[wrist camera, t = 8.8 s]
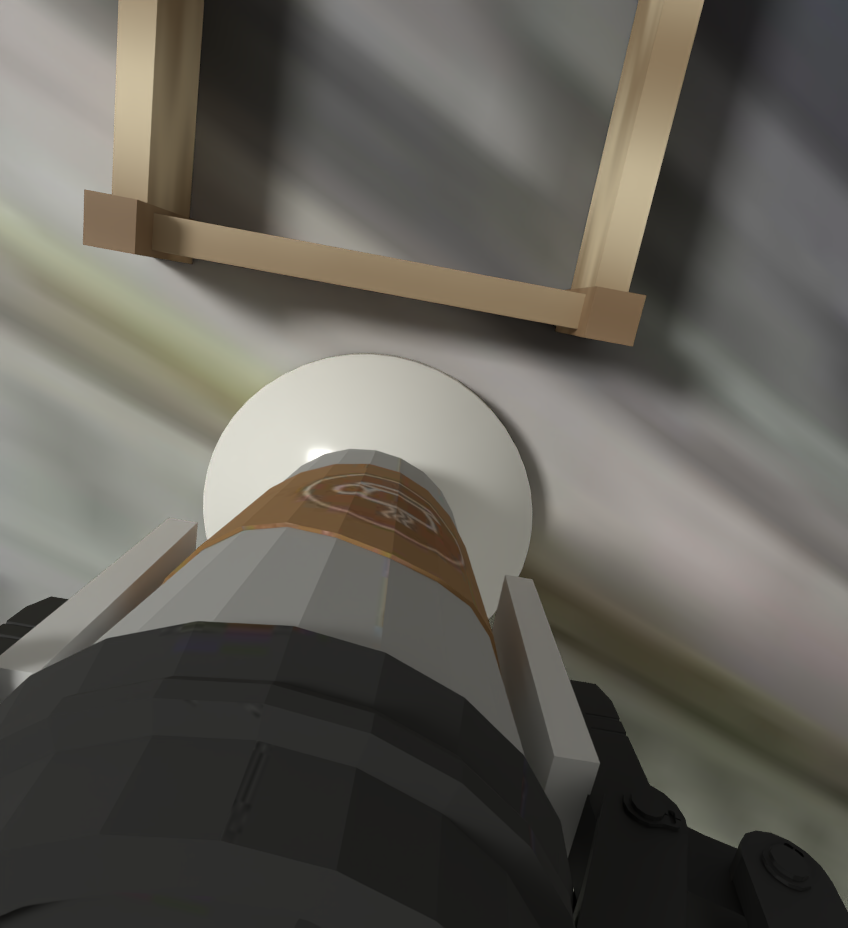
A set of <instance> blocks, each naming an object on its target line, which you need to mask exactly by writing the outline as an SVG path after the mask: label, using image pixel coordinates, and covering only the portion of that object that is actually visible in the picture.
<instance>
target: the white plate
mask: <svg viewBox="0 0 848 928" xmlns="http://www.w3.org/2000/svg"><path fill="white" fill-rule="evenodd" d="M346 449H364V450H377V451H380V452H383V453H386V454H389V455H393V456H396V457H399V458H402V459H403V460H405V461H406V462H408V463H410V464H411V465H413V466H415V467H416V468H418V469H419V470H421V471H423V472H424V473H425V474H426V475H427V476H428V477H429V478H430V479H431V480H432V481H433V483H434V484H435V485H436V486H437V487H438V488H439V489H440V490H441V492H442V493H443V495H444V497H445V499H446V501H447V503H448V505H449V507H450V509H451V510H452V513H453V516H454V519H455V523H456V526H457V529H458V533H459V535H460V537H461V539H462V541H463V543H464V545H465V547H466V550H467V553H468V556H469V560H470V563H471V566H472V569H473V572H474V576H475V579H476V582H477V585H478V588H479V592H480V595H481V598H482V601H483V604H484V607H485V611H486V614H487V617H488V619H489V618H490V617H491V616H492V615H493V614H494V613H495V612H496V610H497V607H498V603H499V598H500V594H501V590H502V586H503V581H504V577H505V575H510V576H516V577H519V574H520V572H521V570H522V568H523V565H524V562H525V559H526V556H527V552H528V549H529V543H530V538H531V532H532V510H533V509H532V500H531V490H530V485H529V482H528V478H527V474H526V470H525V467H524V464H523V462H522V459H521V457H520V454H519V452H518V450H517V447H516V446H515V444H514V442H513V441H512V439H511V437H510V435H509V434H508V432H507V430H506V429H505V427H504V425H503V424H502V423H501V421H500V420H499V419H498V417H497V416H496V415H495V414H494V412H493V411H492V410H491V408H490V407H488V406H487V405H486V404H485V403H484V402H483V401H482V400H481V399H480V398H479V397H478V396H477V395H476V394H475V393H474V392H473V391H471V390H470V389H469V388H467V387H466V386H465V385H463V384H462V383H461V382H459V381H458V380H456V379H454V378H453V377H451V376H449V375H447V374H446V373H444V372H442V371H440V370H438V369H436V368H433V367H431V366H428V365H426V364H423V363H421V362H418V361H415V360H411V359H407V358H403V357H399V356H394V355H385V354H376V353H357V354H346V355H339V356H332V357H328V358H324V359H321V360H317V361H314V362H311V363H308V364H305V365H303V366H301V367H299V368H297V369H294V370H292V371H290V372H288V373H286V374H283V375H282V376H280V377H279V378H277V379H275V380H274V381H272V382H271V383H269V384H268V385H266V386H264V387H263V388H262V389H261V390H260V391H258V392H257V393H256V394H255V395H254V396H253V397H251V398H250V399H249V400H248V401H247V402H246V403H245V404H244V405H243V406H242V408H241V409H240V410H239V411H238V412H237V413H236V414H235V415H234V417H233V418H232V420H231V421H230V423H229V424H228V426H227V427H226V429H225V430H224V432H223V433H222V435H221V437H220V439H219V441H218V443H217V445H216V448H215V450H214V452H213V454H212V458H211V461H210V464H209V467H208V471H207V475H206V481H205V487H204V498H203V516H204V524H205V532H206V537H207V540H208V539H209V538H210V537H212V536H213V535H214V534H215V533H216V532H218V531H219V530H220V529H221V528H223V527H224V526H225V525H226V524H227V523H229V522H230V521H231V520H232V519H233V518H235V517H236V516H237V515H238V514H240V513H241V512H242V511H243V510H244V509H246V508H247V507H248V506H249V505H250V504H252V503H253V502H254V501H255V500H256V499H258V498H259V497H260V496H261V495H263V494H264V493H265V492H266V491H267V490H269V489H270V488H272V487H273V486H275V485H277V484H279V483H281V482H283V481H284V480H285V479H286V478H288V477H289V476H290V475H291V474H292V473H293V472H295V471H296V470H297V469H298V468H299V467H300V466H302V465H304V464H306V463H308V462H310V461H311V460H313V459H315V458H317V457H319V456H321V455H323V454H327V453H331V452H336V451H341V450H346Z"/></svg>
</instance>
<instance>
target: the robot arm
mask: <svg viewBox="0 0 848 928" xmlns="http://www.w3.org/2000/svg"><path fill="white" fill-rule="evenodd" d="M197 524H198V522H192V521H186V520H180V519H174V518H168V519H167V520H165V521H164V522H163V523H162V524H161V525H159V526H158V527H157V528H156V529H154V530H153V531H152V532H151V533H150V534H148V535H147V536H146V537H145V538H143V539H142V540H141V541H140V542H139V543H137V544H136V545H135V546H134V547H132V548H131V549H130V550H129V551H127V552H126V553H125V554H124V555H123V556H121V557H120V558H119V559H118V560H116V561H115V562H114V563H113V564H112V565H110V566H109V567H108V568H107V569H105V570H104V571H103V572H102V573H101V574H99V575H98V576H97V577H96V578H94V579H93V580H92V581H91V582H90V583H88V584H87V585H86V586H85V587H83V588H82V589H81V590H80V591H78V592H77V593H76V594H75V595H74V596H72V597H71V598H70V599H63V598H57V597H49V598H47V599H44V600H42V601H39V602H37V603H34V604H32V605H29V606H27V607H25V608H24V609H22V610H21V611H20V612H18V613H17V614H15V615H14V616H13V617H11V618H10V619H9V620H7V623H6V624H2V625H1V626H0V703H1V702H2V701H3V700H4V699H5V698H6V697H7V696H9V695H10V694H11V693H12V692H13V691H14V690H15V689H16V688H17V687H18V686H19V685H20V684H21V683H22V682H23V681H25V680H26V679H27V678H28V677H29V676H30V675H32V674H34V673H36V672H38V671H40V670H42V669H44V668H46V667H48V666H50V665H53V664H55V663H57V662H59V661H61V660H63V659H65V658H67V657H69V656H71V655H73V654H75V653H77V652H79V651H81V650H83V649H85V648H88V647H90V646H91V645H92V644H94V643H95V642H96V641H97V640H98V639H99V638H101V637H102V636H103V635H104V634H105V633H106V632H108V631H109V630H110V629H111V628H112V627H113V626H115V625H116V624H117V623H118V622H119V621H120V620H122V619H123V618H124V617H125V616H126V615H127V614H129V613H130V612H131V611H132V610H133V609H134V608H136V607H137V606H138V605H139V604H140V603H142V602H143V601H144V600H145V599H146V598H147V597H149V596H150V595H151V594H152V593H153V592H154V591H156V590H157V589H158V588H159V587H160V586H161V585H162V583H163V581H164V580H165V578H166V577H167V576H168V575H169V574H170V573H171V572H172V571H173V570H175V569H176V568H177V567H178V566H179V565H180V564H181V563H182V562H183V561H184V560H185V559H186V558H188V557H189V556H190V555H191V554H192V553H193V552H194V551H195V549H196V536H197ZM492 633H493V636H494V641H495V646H496V651H497V656H498V661H499V666H500V671H501V677H502V681H503V684H504V688H505V691H506V694H507V698H508V701H509V704H510V708H511V711H512V714H513V718H514V721H515V725H516V728H517V731H518V735H519V738H520V741H521V745H522V748H523V751H524V755H525V758H526V760H527V761H528V763H529V765H530V767H531V769H532V770H533V772H534V774H535V776H536V778H537V779H538V781H539V783H540V785H541V786H542V788H543V790H544V792H545V794H546V795H547V797H548V799H549V801H550V803H551V804H552V806H553V808H554V810H555V812H556V813H557V815H558V817H559V819H560V821H561V825H562V830H563V836H564V841H565V846H566V851H567V857H568V862H569V867H570V872H571V878H572V883H573V887H574V892H573V918H574V923H575V928H848V912H847V910H846V908H845V906H844V904H843V902H842V900H841V898H840V896H839V894H838V892H837V890H836V888H835V886H834V884H833V883H832V881H831V880H830V878H829V877H828V875H827V874H826V872H825V871H824V870H823V868H822V867H821V866H820V865H819V864H818V863H817V862H816V861H815V860H814V859H813V858H812V857H811V856H810V855H809V854H808V853H806V852H805V851H804V850H802V849H801V848H799V847H798V846H796V845H795V844H793V843H792V842H790V841H789V840H787V839H784V838H782V837H779V836H777V835H775V834H772V833H768V832H762V831H753V832H750V833H746V834H745V835H744V837H743V838H742V840H741V842H740V844H739V846H738V849H737V848H734V847H732V846H729V845H727V844H725V843H722V842H720V841H717V840H715V839H713V838H710V837H708V836H705V835H703V834H701V833H699V832H697V831H695V830H693V829H691V828H689V827H687V825H686V820H685V817H684V816H683V814H682V813H681V811H680V810H679V808H678V807H677V805H676V804H675V803H674V802H673V801H671V800H670V799H669V798H668V797H667V796H666V795H665V794H664V793H662V792H661V791H659V790H657V789H655V788H654V787H652V786H650V785H649V782H648V780H647V778H646V776H645V774H644V771H643V769H642V767H641V765H640V763H639V760H638V758H637V756H636V754H635V752H634V749H633V747H632V745H631V743H630V740H629V738H628V737H627V736H626V732H625V729H624V727H623V725H622V723H621V722H619V716H618V714H617V712H616V710H615V707H614V705H613V703H612V701H611V700H610V699H609V698H608V697H607V696H606V695H605V693H604V692H603V691H602V690H601V689H600V688H599V687H598V686H597V685H596V684H592V683H586V682H579V681H573V680H569V677H568V675H567V672H566V669H565V666H564V664H563V661H562V658H561V655H560V653H559V650H558V647H557V645H556V642H555V639H554V636H553V634H552V631H551V628H550V625H549V623H548V620H547V617H546V615H545V612H544V609H543V606H542V604H541V601H540V598H539V596H538V593H537V590H536V587H535V585H534V582H533V579H528V578H522V577H516V576H510V575H505V577H504V581H503V586H502V590H501V594H500V598H499V603H498V607H497V611H496V615H495V619H494V624H493V628H492Z"/></svg>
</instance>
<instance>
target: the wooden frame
mask: <svg viewBox="0 0 848 928" xmlns="http://www.w3.org/2000/svg"><path fill="white" fill-rule="evenodd" d="M703 3H704V0H639V2H638V6H637V10H636V14H635V19H634V23H633V27H632V31H631V36H630V40H629V44H628V48H627V53H626V57H625V61H624V65H623V70H622V74H621V78H620V82H619V87H618V91H617V95H616V99H615V104H614V108H613V112H612V116H611V121H610V125H609V129H608V134H607V138H606V142H605V146H604V151H603V155H602V159H601V163H600V168H599V172H598V176H597V180H596V185H595V189H594V193H593V197H592V202H591V206H590V210H589V214H588V219H587V223H586V227H585V231H584V236H583V240H582V244H581V248H580V253H579V257H578V261H577V265H576V270H575V274H574V278H573V282H572V287H571V289H568V290H560V289H555V288H549V287H544V286H539V285H533V284H528V283H523V282H518V281H512V280H507V279H502V278H496V277H491V276H486V275H480V274H475V273H470V272H464V271H459V270H454V269H448V268H443V267H438V266H432V265H427V264H422V263H416V262H411V261H406V260H401V259H395V258H390V257H385V256H379V255H374V254H369V253H363V252H358V251H353V250H347V249H342V248H337V247H331V246H326V245H321V244H315V243H310V242H305V241H300V240H294V239H289V238H284V237H278V236H273V235H268V234H262V233H257V232H252V231H246V230H241V229H236V228H230V227H225V226H220V225H214V224H209V223H204V222H198V221H195V220H193V219H190V218H189V217H190V202H191V188H192V173H193V158H194V144H195V129H196V115H197V100H198V85H199V71H200V56H201V41H202V27H203V12H204V0H119V7H118V35H117V63H116V92H115V120H114V148H113V176H112V195H111V194H106V193H100V192H95V191H90V190H84V227H83V245H88V246H93V247H99V248H104V249H110V250H115V251H120V252H126V253H131V254H137V255H142V256H148V257H154V258H160V259H166V260H171V261H177V262H183V263H189V264H192V261H193V258H196V259H201V260H206V261H212V262H217V263H222V264H228V265H233V266H239V267H244V268H249V269H255V270H260V271H265V272H271V273H276V274H282V275H287V276H292V277H298V278H303V279H309V280H314V281H319V282H325V283H330V284H335V285H341V286H346V287H352V288H357V289H362V290H368V291H373V292H379V293H384V294H389V295H395V296H400V297H405V298H411V299H416V300H422V301H427V302H432V303H438V304H443V305H448V306H454V307H459V308H465V309H470V310H475V311H481V312H486V313H492V314H497V315H502V316H508V317H513V318H518V319H524V320H529V321H535V322H540V323H545V324H551V325H556V330H555V331H556V332H560V333H565V334H570V335H575V336H579V337H584V338H590V339H595V340H600V341H606V342H611V343H617V344H622V345H627V346H633V344H634V340H635V336H636V333H637V329H638V325H639V321H640V318H641V314H642V310H643V306H644V303H645V299H646V295H641V294H636V293H630V292H628V291H629V288H630V284H631V280H632V276H633V272H634V268H635V264H636V261H637V257H638V253H639V249H640V245H641V241H642V238H643V234H644V230H645V226H646V222H647V218H648V214H649V211H650V207H651V203H652V199H653V195H654V191H655V188H656V184H657V180H658V176H659V172H660V168H661V164H662V161H663V157H664V153H665V149H666V145H667V141H668V138H669V134H670V130H671V126H672V122H673V118H674V114H675V111H676V107H677V103H678V99H679V95H680V91H681V88H682V84H683V80H684V76H685V72H686V68H687V64H688V61H689V57H690V53H691V49H692V45H693V41H694V38H695V34H696V30H697V26H698V22H699V18H700V15H701V11H702V7H703Z"/></svg>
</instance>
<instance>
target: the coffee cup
mask: <svg viewBox="0 0 848 928" xmlns="http://www.w3.org/2000/svg"><path fill="white" fill-rule="evenodd" d="M0 928H575V923H574V918H573V883H572V878H571V872H570V867H569V862H568V857H567V851H566V846H565V841H564V836H563V830H562V825H561V821H560V819H559V817H558V815H557V813H556V812H555V810H554V808H553V806H552V804H551V803H550V801H549V799H548V797H547V795H546V794H545V792H544V790H543V788H542V786H541V785H540V783H539V781H538V779H537V778H536V776H535V774H534V772H533V770H532V769H531V767H530V765H529V763H528V761H527V760H526V758H525V755H524V751H523V748H522V745H521V741H520V738H519V735H518V731H517V728H516V725H515V721H514V718H513V714H512V711H511V708H510V704H509V701H508V698H507V694H506V691H505V688H504V684H503V681H502V677H501V671H500V666H499V661H498V656H497V651H496V646H495V641H494V636H493V633H492V630H491V627H490V623H489V620H488V617H487V614H486V611H485V607H484V604H483V601H482V598H481V595H480V592H479V588H478V585H477V582H476V579H475V576H474V572H473V569H472V566H471V563H470V560H469V556H468V553H467V550H466V547H465V545H464V543H463V541H462V539H461V537H460V535H459V533H458V529H457V526H456V523H455V519H454V516H453V513H452V510H451V509H450V507H449V505H448V503H447V501H446V499H445V497H444V495H443V493H442V492H441V490H440V489H439V488H438V487H437V486H436V485H435V484H434V483H433V481H432V480H431V479H430V478H429V477H428V476H427V475H426V474H425V473H424V472H423V471H421V470H419V469H418V468H416V467H415V466H413V465H411V464H410V463H408V462H406V461H405V460H403V459H402V458H399V457H396V456H393V455H389V454H386V453H383V452H380V451H377V450H364V449H346V450H341V451H336V452H331V453H327V454H323V455H321V456H319V457H317V458H315V459H313V460H311V461H310V462H308V463H306V464H304V465H302V466H300V467H299V468H298V469H297V470H296V471H295V472H293V473H292V474H291V475H290V476H289V477H288V478H286V479H285V480H284V481H283V482H281V483H279V484H277V485H275V486H273V487H272V488H270V489H269V490H267V491H266V492H265V493H264V494H263V495H261V496H260V497H259V498H258V499H256V500H255V501H254V502H253V503H252V504H250V505H249V506H248V507H247V508H246V509H244V510H243V511H242V512H241V513H240V514H238V515H237V516H236V517H235V518H233V519H232V520H231V521H230V522H229V523H227V524H226V525H225V526H224V527H223V528H221V529H220V530H219V531H218V532H216V533H215V534H214V535H213V536H212V537H210V538H209V539H208V540H207V541H206V542H204V543H203V544H202V545H201V546H200V547H198V548H197V549H196V550H195V551H194V552H193V553H192V554H191V555H190V556H189V557H188V558H186V559H185V560H184V561H183V562H182V563H181V564H180V565H179V566H178V567H177V568H176V569H175V570H173V571H172V572H171V573H170V574H169V575H168V576H167V577H166V578H165V580H164V581H163V583H162V585H161V586H160V587H159V588H158V589H157V590H156V591H154V592H153V593H152V594H151V595H150V596H149V597H147V598H146V599H145V600H144V601H143V602H142V603H140V604H139V605H138V606H137V607H136V608H134V609H133V610H132V611H131V612H130V613H129V614H127V615H126V616H125V617H124V618H123V619H122V620H120V621H119V622H118V623H117V624H116V625H115V626H113V627H112V628H111V629H110V630H109V631H108V632H106V633H105V634H104V635H103V636H102V637H101V638H99V639H98V640H97V641H96V642H95V643H94V644H92V645H91V646H90V647H88V648H85V649H83V650H81V651H79V652H77V653H75V654H73V655H71V656H69V657H67V658H65V659H63V660H61V661H59V662H57V663H55V664H53V665H50V666H48V667H46V668H44V669H42V670H40V671H38V672H36V673H34V674H32V675H30V676H29V677H28V678H27V679H26V680H25V681H23V682H22V683H21V684H20V685H19V686H18V687H17V688H16V689H15V690H14V691H13V692H12V693H11V694H10V695H9V696H7V697H6V698H5V699H4V700H3V701H2V702H1V703H0Z"/></svg>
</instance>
